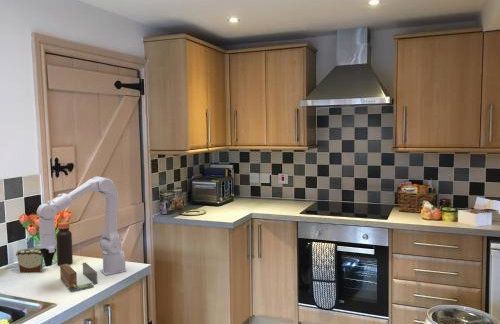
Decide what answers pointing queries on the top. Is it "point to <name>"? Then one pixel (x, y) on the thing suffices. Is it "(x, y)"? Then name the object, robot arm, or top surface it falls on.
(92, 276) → the gauge frame
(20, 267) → the food container
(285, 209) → the top surface
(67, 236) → the bottle
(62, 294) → the top surface
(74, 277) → the brown wooden block
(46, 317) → the top surface
